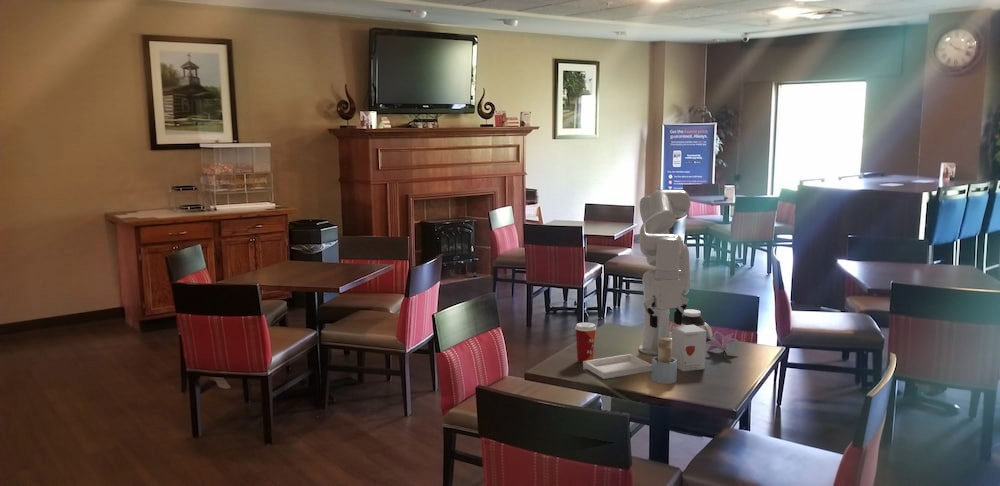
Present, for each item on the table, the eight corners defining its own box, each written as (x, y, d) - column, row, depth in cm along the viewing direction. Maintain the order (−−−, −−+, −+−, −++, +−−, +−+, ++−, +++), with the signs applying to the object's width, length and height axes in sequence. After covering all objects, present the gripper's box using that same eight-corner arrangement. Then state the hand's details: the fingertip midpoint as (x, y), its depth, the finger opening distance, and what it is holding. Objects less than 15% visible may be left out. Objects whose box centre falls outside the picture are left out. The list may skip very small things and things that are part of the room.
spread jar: (674, 338, 296) (675, 310, 294) (690, 333, 303) (691, 305, 302) (700, 345, 287) (701, 316, 285) (716, 339, 295) (717, 311, 293)
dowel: (665, 376, 248) (666, 336, 246) (673, 380, 244) (674, 340, 242) (654, 378, 246) (655, 338, 244) (662, 382, 242) (663, 342, 240)
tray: (630, 361, 267) (630, 353, 267) (653, 373, 254) (653, 365, 254) (582, 369, 259) (583, 361, 259) (603, 381, 247) (603, 373, 246)
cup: (666, 377, 251) (667, 354, 249) (681, 384, 243) (681, 361, 242) (646, 380, 248) (647, 357, 246) (661, 388, 240) (661, 364, 239)
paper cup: (594, 365, 263) (595, 328, 261) (573, 364, 265) (574, 327, 262) (596, 358, 271) (597, 322, 268) (575, 357, 272) (576, 321, 270)
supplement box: (682, 374, 254) (683, 332, 251) (669, 366, 262) (671, 325, 260) (705, 371, 256) (707, 330, 254) (692, 363, 265) (693, 323, 262)
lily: (742, 356, 275) (736, 332, 279) (738, 353, 265) (732, 327, 268) (711, 363, 280) (705, 338, 283) (706, 359, 269) (700, 334, 273)
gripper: (681, 271, 246) (680, 320, 249) (638, 274, 239) (637, 325, 242) (695, 274, 239) (694, 325, 242) (652, 278, 233) (650, 331, 235)
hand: (665, 325), depth 242 cm, fingers open, 9 cm apart
